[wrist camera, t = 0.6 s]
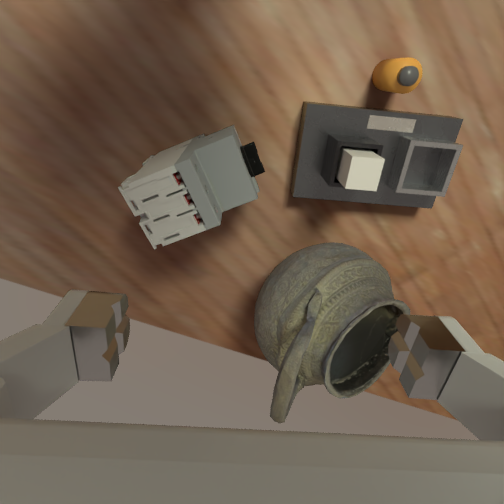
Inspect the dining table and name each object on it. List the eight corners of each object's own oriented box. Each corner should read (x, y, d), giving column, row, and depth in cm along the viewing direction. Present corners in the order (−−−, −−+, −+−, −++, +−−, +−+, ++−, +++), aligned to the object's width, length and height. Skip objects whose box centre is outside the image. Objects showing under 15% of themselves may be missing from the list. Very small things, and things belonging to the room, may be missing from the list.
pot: (227, 293, 59) (219, 427, 37) (302, 195, 52) (347, 291, 29) (321, 343, 65) (363, 485, 43) (401, 262, 57) (502, 384, 35)
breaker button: (340, 147, 42) (352, 156, 38) (370, 149, 42) (385, 159, 38) (334, 176, 44) (345, 188, 39) (362, 179, 44) (376, 191, 39)
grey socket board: (303, 101, 46) (315, 107, 38) (450, 116, 47) (487, 124, 40) (290, 190, 51) (298, 209, 44) (422, 201, 52) (450, 222, 45)
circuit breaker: (265, 168, 50) (274, 204, 36) (175, 203, 52) (152, 250, 38) (246, 115, 46) (247, 134, 33) (150, 155, 48) (115, 188, 35)
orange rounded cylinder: (376, 57, 43) (398, 55, 37) (404, 60, 44) (431, 59, 37) (369, 89, 45) (389, 92, 39) (396, 92, 45) (420, 95, 39)
